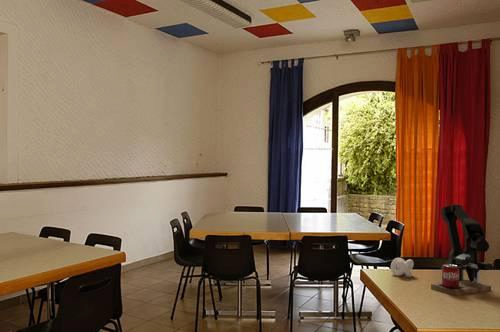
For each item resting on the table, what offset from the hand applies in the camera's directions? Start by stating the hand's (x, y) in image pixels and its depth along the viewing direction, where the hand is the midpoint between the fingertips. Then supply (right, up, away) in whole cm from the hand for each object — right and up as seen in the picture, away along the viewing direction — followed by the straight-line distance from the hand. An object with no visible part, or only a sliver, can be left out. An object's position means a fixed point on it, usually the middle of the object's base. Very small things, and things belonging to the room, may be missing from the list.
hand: (471, 281), depth 208 cm
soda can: (-13, -3, -6) cm, 15 cm away
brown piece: (-6, -3, -3) cm, 8 cm away
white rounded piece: (-25, -4, +25) cm, 35 cm away
